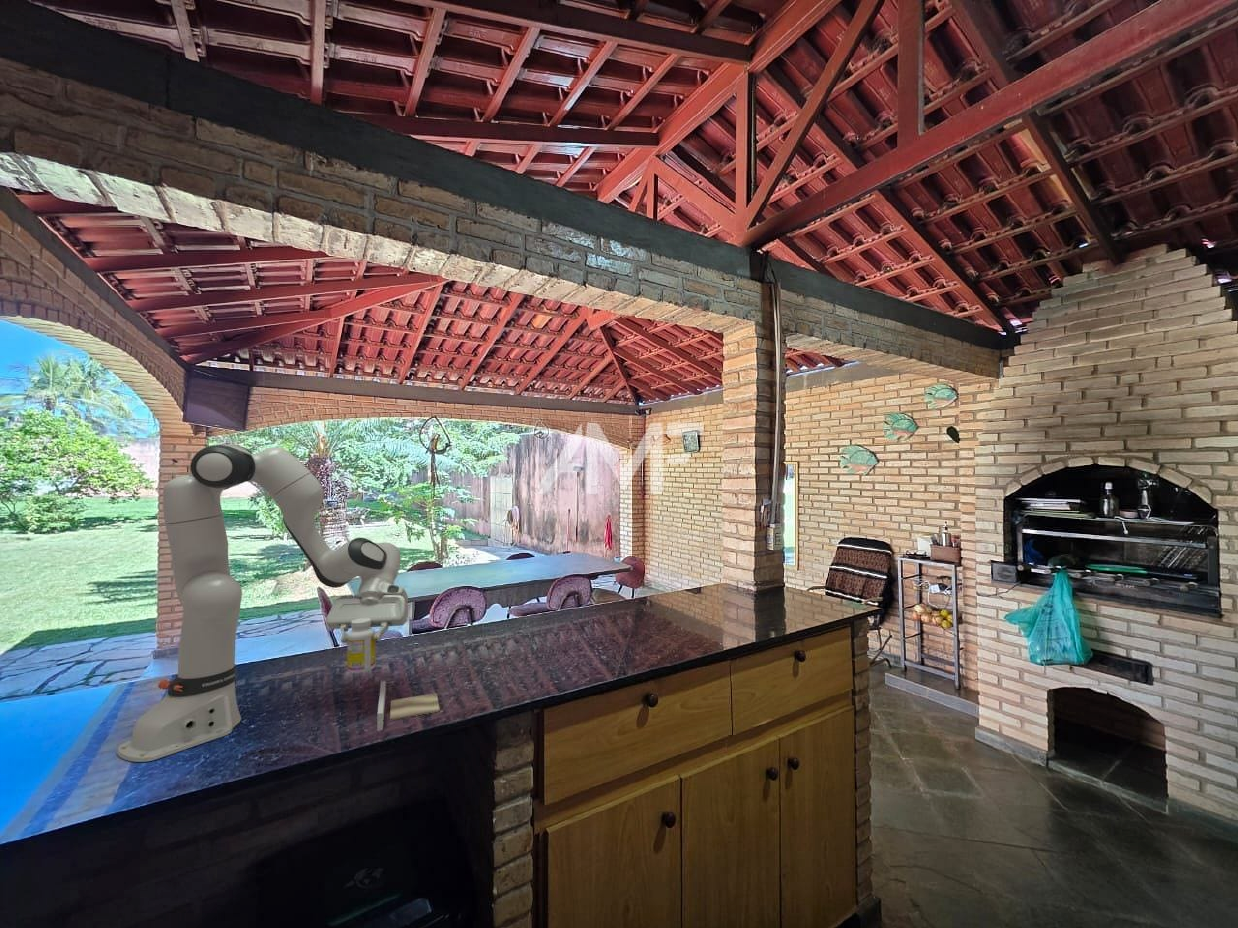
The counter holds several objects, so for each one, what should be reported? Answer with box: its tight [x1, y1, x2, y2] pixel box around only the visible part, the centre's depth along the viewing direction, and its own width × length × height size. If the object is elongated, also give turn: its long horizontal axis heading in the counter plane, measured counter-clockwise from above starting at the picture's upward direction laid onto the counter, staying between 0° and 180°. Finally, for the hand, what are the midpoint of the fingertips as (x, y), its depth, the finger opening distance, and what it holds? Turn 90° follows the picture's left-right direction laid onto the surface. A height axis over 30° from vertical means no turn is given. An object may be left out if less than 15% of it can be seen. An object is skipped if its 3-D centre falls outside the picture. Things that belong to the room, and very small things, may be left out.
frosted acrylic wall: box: [376, 680, 387, 732], centre depth 130 cm, size 22×1×4 cm, turn 24°
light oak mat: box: [389, 692, 441, 721], centre depth 133 cm, size 12×12×1 cm
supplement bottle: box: [346, 618, 377, 674], centre depth 128 cm, size 7×7×13 cm
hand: (360, 640), depth 128 cm, fingers closed on supplement bottle, 7 cm apart
